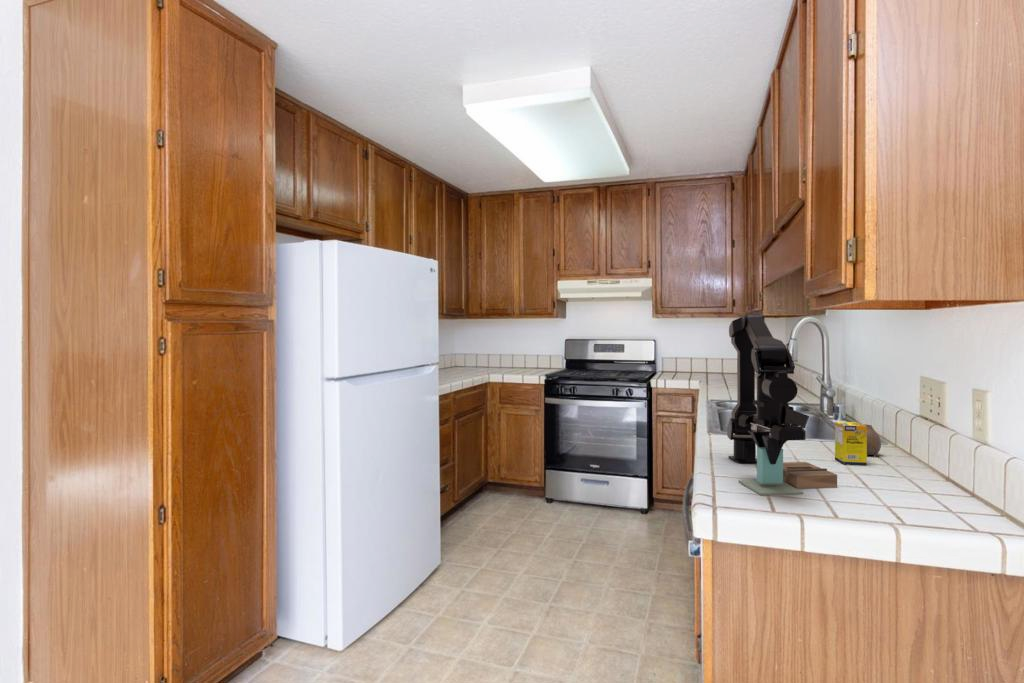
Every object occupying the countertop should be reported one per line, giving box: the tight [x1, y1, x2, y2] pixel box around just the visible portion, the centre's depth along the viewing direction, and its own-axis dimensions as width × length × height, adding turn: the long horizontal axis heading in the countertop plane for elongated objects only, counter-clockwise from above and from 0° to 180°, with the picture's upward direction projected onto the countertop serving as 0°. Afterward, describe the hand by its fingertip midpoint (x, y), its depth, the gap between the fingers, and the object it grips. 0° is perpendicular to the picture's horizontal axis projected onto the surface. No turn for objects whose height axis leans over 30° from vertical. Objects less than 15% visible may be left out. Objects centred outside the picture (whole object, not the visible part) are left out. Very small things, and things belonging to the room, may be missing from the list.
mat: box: [738, 479, 804, 496], centre depth 124 cm, size 10×10×1 cm
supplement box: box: [834, 421, 868, 466], centre depth 146 cm, size 6×6×11 cm
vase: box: [862, 423, 882, 456], centre depth 155 cm, size 7×7×9 cm
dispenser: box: [783, 461, 838, 490], centre depth 129 cm, size 12×10×3 cm
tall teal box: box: [756, 446, 784, 484], centre depth 124 cm, size 2×5×8 cm, turn 94°
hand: (769, 462), depth 124 cm, fingers closed on tall teal box, 2 cm apart
